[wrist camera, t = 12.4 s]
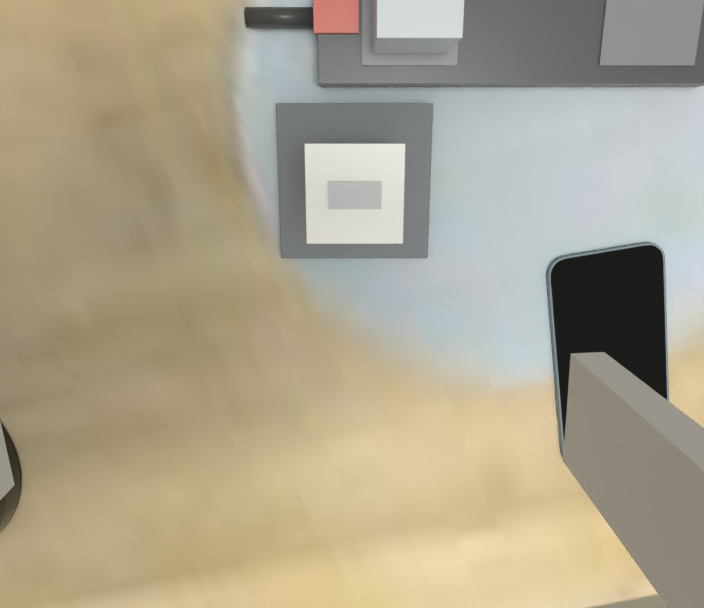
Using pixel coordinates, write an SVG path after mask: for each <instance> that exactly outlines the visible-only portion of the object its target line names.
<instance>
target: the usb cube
mask: <svg viewBox="0 0 704 608" xmlns="http://www.w3.org/2000/svg"><path fill="white" fill-rule="evenodd" d="M463 17H464V0H374V14H373V53H448V52H449V51H450V50H451V49H452V48H453V47H454V46H455V45H456V44H457V43H458V42H459V41H460V40H461V39H462V38H463Z"/></svg>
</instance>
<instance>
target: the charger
mask: <svg viewBox="0 0 704 608" xmlns="http://www.w3.org/2000/svg"><path fill="white" fill-rule="evenodd" d="M404 177H405V144H305V187H306V233H307V244H403V218H404Z"/></svg>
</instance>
